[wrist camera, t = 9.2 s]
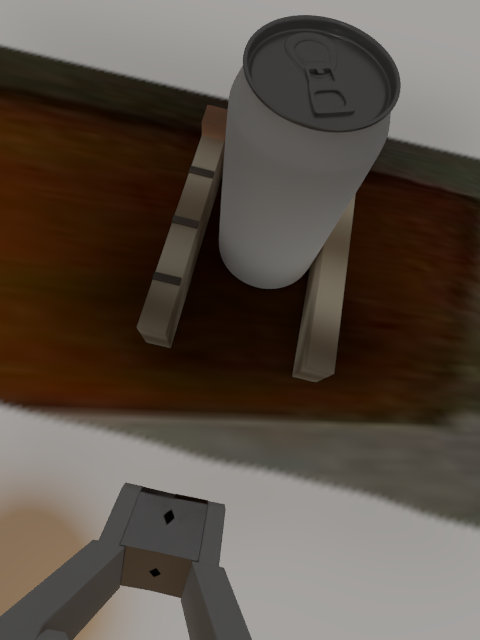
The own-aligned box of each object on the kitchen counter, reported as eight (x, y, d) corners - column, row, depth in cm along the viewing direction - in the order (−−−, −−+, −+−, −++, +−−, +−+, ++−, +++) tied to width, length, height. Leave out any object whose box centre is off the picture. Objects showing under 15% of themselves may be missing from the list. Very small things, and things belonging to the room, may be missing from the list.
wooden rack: (316, 382, 20) (341, 370, 16) (146, 342, 20) (132, 321, 16) (342, 187, 25) (366, 144, 21) (207, 154, 25) (207, 104, 21)
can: (298, 204, 24) (378, 6, 13) (322, 284, 22) (440, 132, 11) (210, 213, 23) (215, 7, 12) (227, 298, 21) (251, 146, 10)
